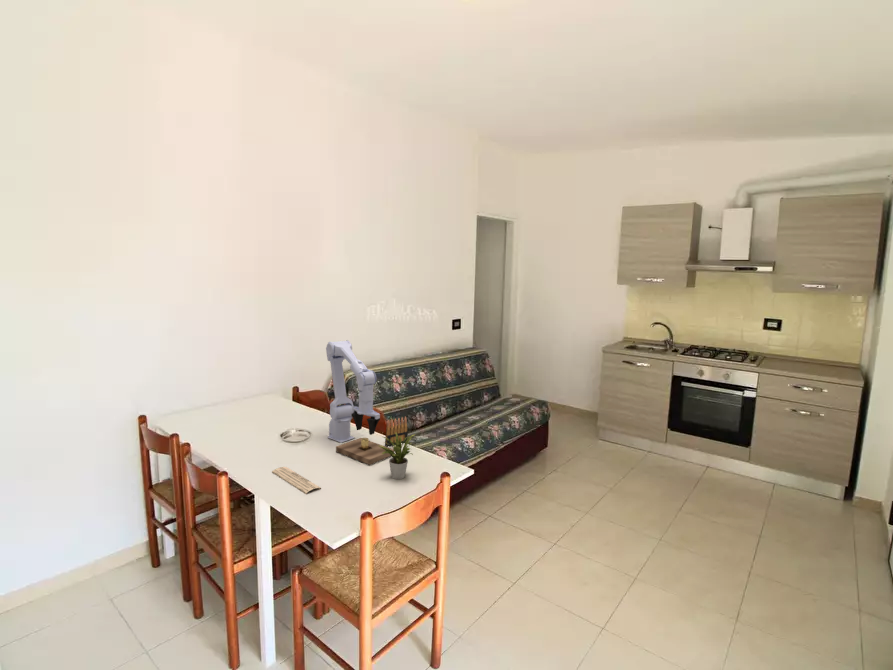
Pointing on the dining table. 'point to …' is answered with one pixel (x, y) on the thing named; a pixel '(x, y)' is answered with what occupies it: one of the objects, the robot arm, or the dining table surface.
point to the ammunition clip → (396, 431)
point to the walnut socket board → (363, 452)
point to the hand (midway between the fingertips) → (365, 431)
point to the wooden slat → (295, 479)
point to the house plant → (398, 457)
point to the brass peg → (364, 444)
